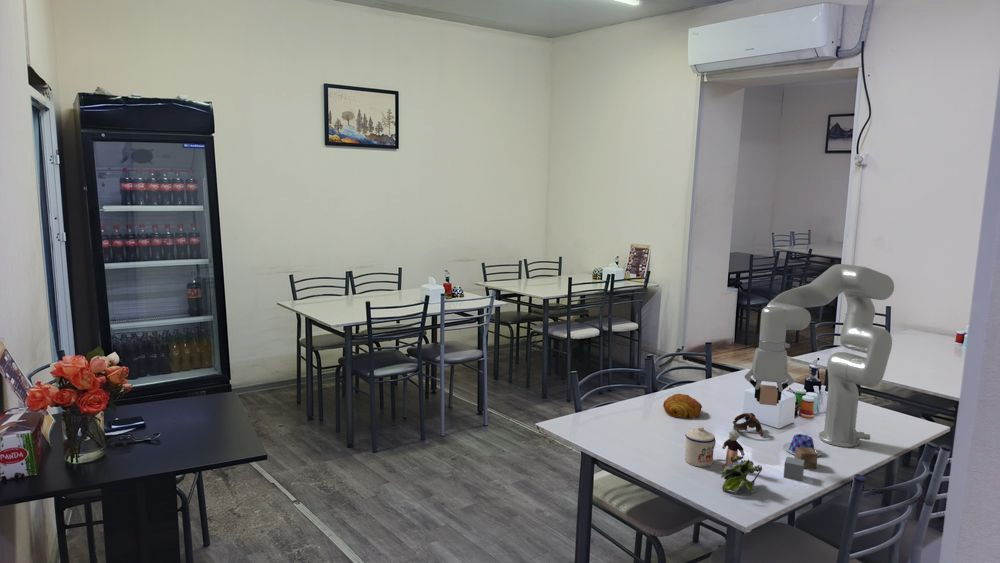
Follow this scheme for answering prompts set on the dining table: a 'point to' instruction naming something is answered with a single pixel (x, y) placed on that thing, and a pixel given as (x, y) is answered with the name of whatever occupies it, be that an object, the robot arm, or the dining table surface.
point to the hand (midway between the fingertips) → (767, 400)
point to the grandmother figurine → (732, 447)
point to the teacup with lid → (699, 447)
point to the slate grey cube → (794, 468)
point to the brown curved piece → (747, 423)
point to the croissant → (682, 406)
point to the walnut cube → (807, 457)
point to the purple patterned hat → (801, 444)
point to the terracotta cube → (768, 395)
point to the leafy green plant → (739, 474)
